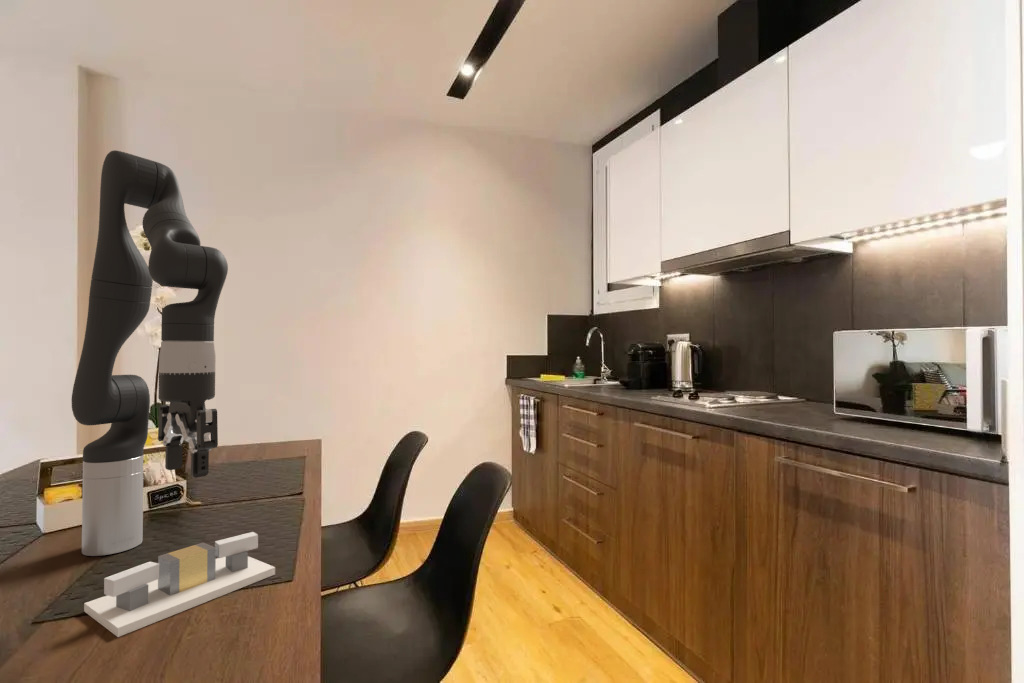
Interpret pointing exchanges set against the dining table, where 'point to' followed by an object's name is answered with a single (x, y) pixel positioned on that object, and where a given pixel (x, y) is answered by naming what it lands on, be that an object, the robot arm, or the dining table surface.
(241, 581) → the stand
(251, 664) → the dining table surface
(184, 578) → the block
